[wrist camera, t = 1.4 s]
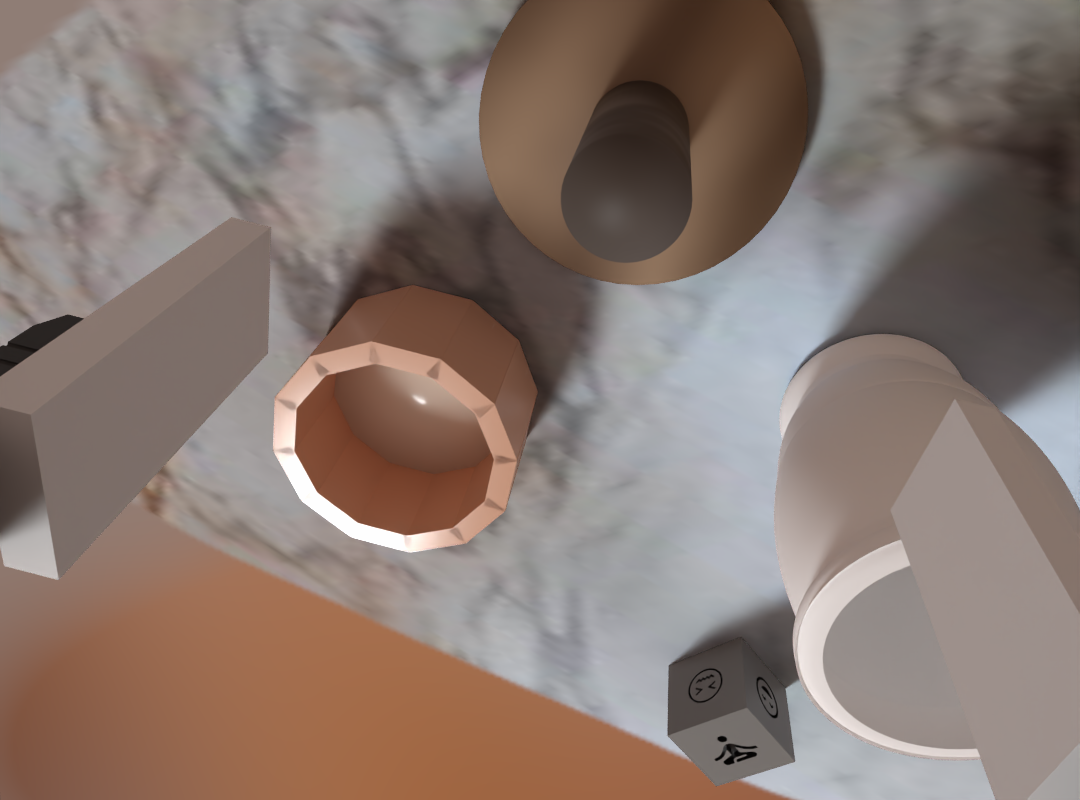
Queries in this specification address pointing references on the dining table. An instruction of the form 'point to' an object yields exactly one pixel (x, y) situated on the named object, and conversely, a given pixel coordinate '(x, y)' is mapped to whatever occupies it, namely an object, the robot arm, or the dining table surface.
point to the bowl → (408, 420)
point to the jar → (871, 539)
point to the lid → (643, 131)
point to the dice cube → (729, 713)
